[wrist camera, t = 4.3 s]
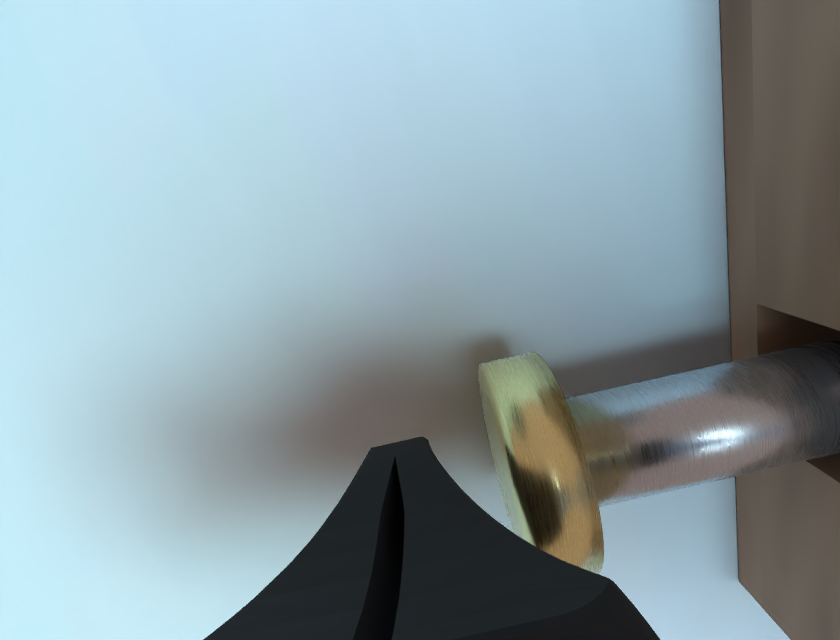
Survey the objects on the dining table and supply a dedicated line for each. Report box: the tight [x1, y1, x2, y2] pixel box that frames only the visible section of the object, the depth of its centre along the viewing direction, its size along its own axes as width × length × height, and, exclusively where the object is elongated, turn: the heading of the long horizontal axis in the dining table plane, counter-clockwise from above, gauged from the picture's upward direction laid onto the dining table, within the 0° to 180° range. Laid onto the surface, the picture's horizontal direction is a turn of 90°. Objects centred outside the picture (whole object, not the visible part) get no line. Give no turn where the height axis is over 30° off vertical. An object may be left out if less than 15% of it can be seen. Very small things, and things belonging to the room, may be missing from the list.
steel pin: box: [478, 337, 840, 574], centre depth 11 cm, size 9×5×5 cm, turn 102°
